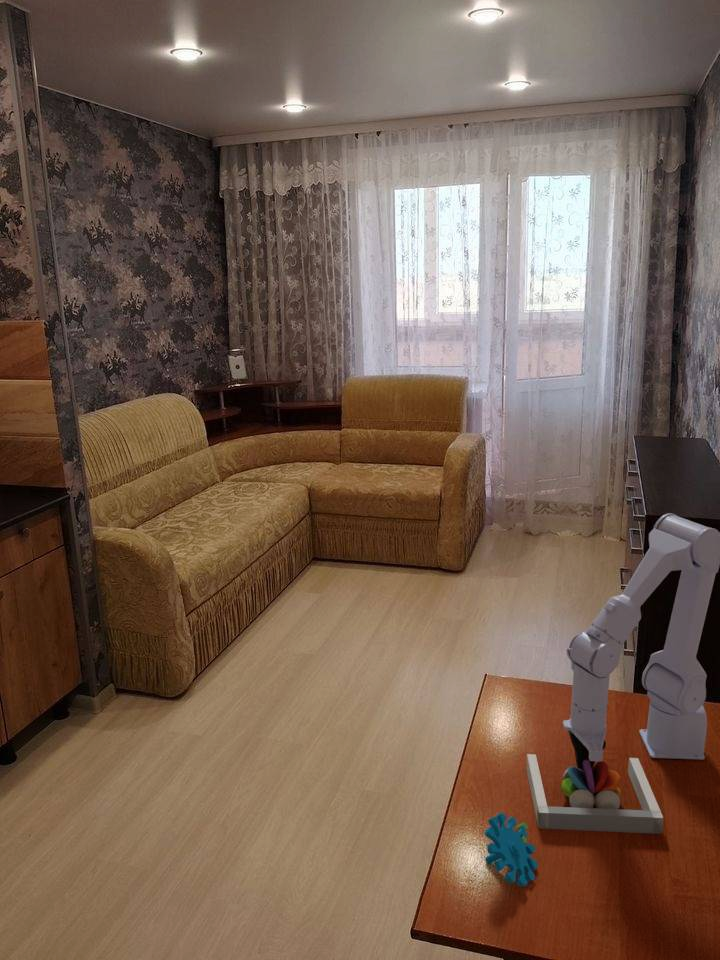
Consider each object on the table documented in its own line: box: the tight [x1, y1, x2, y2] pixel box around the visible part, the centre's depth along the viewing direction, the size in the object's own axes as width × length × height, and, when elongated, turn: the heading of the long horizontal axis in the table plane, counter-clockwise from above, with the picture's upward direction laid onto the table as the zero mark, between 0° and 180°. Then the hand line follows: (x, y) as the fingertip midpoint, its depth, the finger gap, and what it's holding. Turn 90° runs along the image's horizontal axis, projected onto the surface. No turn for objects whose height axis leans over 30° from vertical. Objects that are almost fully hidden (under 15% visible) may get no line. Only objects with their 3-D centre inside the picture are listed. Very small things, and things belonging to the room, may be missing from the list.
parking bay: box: [525, 753, 664, 835], centre depth 124 cm, size 19×14×3 cm
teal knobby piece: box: [484, 812, 539, 888], centre depth 111 cm, size 11×6×10 cm
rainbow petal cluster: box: [560, 760, 622, 809], centre depth 123 cm, size 8×10×7 cm
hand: (584, 770), depth 129 cm, fingers closed
